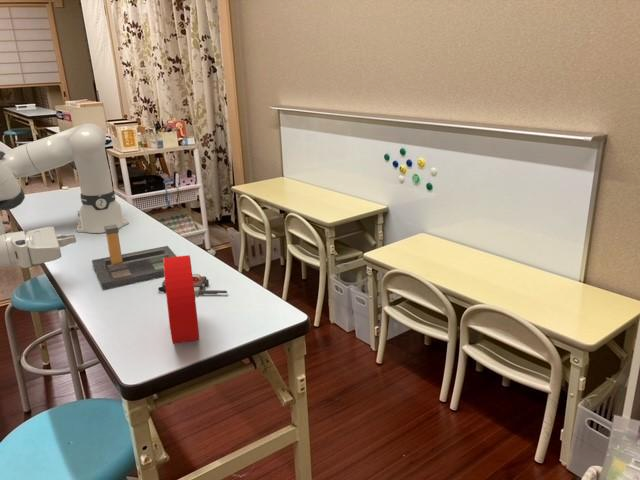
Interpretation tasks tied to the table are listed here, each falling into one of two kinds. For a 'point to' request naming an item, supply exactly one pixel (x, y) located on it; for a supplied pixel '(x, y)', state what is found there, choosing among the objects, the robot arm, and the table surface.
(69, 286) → the table surface
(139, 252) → the grey metal board
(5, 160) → the robot arm
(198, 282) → the walkie-talkie
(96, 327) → the table surface
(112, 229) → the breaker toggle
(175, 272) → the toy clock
